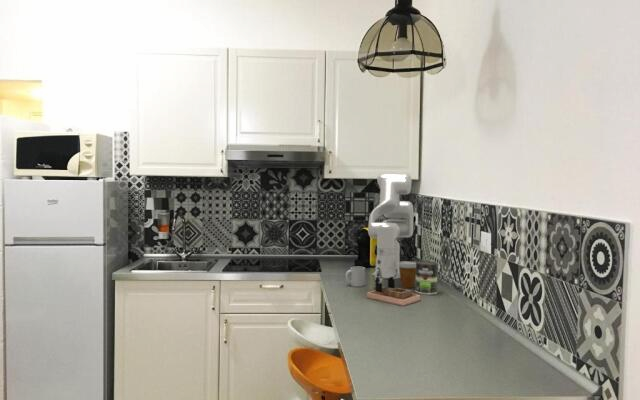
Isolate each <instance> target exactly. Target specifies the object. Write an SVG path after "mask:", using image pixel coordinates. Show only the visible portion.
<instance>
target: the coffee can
mask: <svg viewBox="0 0 640 400" xmlns="http://www.w3.org/2000/svg"><path fill="white" fill-rule="evenodd" d="M415 262H416V275H415V284H414V287H415V289H414V291H415V294H416V293H417V294H418V295H428V296H429V295H437V294H438V268H439V267H438V266H439V263H438V262H436V261H431V260H417V261H415Z"/></svg>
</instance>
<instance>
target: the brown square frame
mask: <svg viewBox="0 0 640 400" xmlns="http://www.w3.org/2000/svg"><path fill="white" fill-rule="evenodd" d="M412 293H413V290H411V289H407V288H403V287H394V288H389V287H388V286H384V285H382V292H379V295H383V296H388V297H392V298H397V299H402V300H404V299H407V298H410V297H412Z"/></svg>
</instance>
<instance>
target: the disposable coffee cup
mask: <svg viewBox="0 0 640 400" xmlns="http://www.w3.org/2000/svg"><path fill="white" fill-rule="evenodd" d="M416 262H417V261H412V260H411V261H408V260H407V261H406V260H404V261H402V260H401V261H399V264H398V266H399V270H400V278H399V280H400V285H401V286H400V287H401V288H404V289H407V288H408V289H411V288H414V287H415V283H416Z"/></svg>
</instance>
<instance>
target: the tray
mask: <svg viewBox="0 0 640 400" xmlns="http://www.w3.org/2000/svg"><path fill="white" fill-rule="evenodd" d="M366 299H369V300H373V301H374V300H375V301H378V302H382V303H388V304H392V305H396V306H401V307H405V306H408V305H411V304H414V303H417V302H419V301H421V294H419V293H417V294H416V293H413V292H412V297H410V298H407V299H404V300H402V299H397V298H392V297H388V296H383V295H379V292H377V291H375V290H372V291H368V292H366Z"/></svg>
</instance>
